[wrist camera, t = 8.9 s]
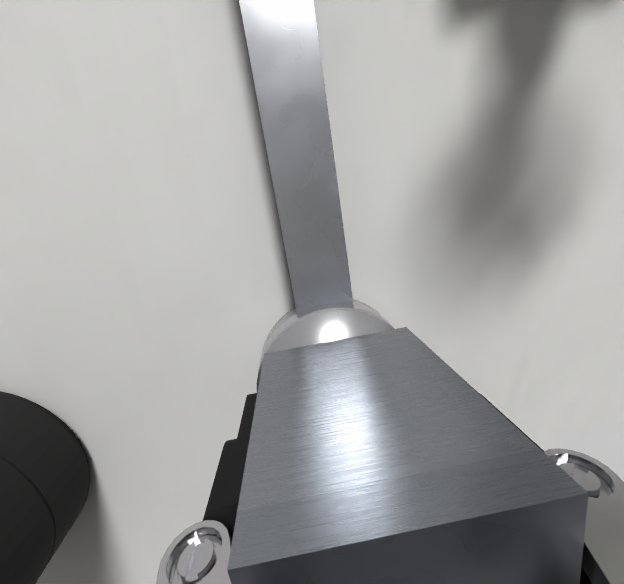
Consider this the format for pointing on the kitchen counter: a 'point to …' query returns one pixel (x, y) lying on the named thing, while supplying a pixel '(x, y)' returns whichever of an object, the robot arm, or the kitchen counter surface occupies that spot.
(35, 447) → the pen holder
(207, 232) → the kitchen counter surface
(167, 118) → the kitchen counter surface
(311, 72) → the ratchet
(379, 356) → the brushed steel cube
